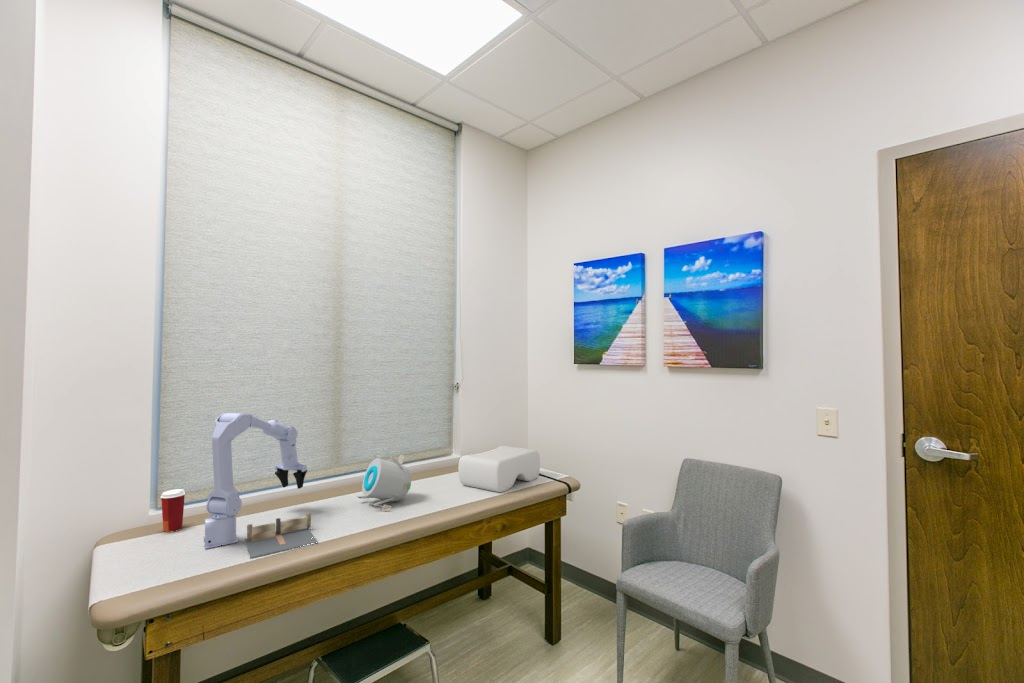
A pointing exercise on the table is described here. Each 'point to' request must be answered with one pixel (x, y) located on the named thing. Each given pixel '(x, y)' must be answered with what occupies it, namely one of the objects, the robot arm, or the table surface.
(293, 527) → the fence gate
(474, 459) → the knee pillow
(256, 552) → the card
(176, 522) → the paper cup
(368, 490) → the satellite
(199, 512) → the table surface
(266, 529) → the fixed fence
